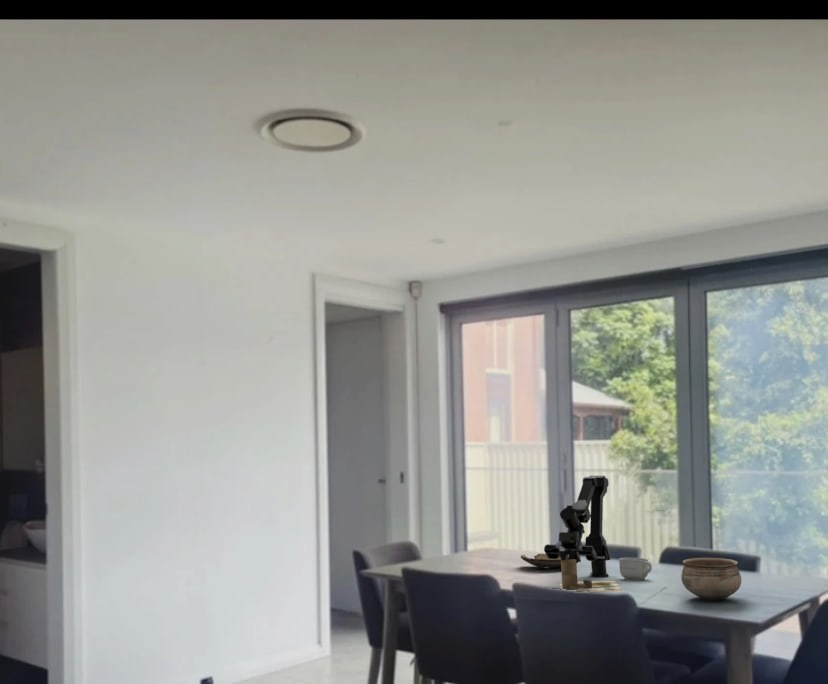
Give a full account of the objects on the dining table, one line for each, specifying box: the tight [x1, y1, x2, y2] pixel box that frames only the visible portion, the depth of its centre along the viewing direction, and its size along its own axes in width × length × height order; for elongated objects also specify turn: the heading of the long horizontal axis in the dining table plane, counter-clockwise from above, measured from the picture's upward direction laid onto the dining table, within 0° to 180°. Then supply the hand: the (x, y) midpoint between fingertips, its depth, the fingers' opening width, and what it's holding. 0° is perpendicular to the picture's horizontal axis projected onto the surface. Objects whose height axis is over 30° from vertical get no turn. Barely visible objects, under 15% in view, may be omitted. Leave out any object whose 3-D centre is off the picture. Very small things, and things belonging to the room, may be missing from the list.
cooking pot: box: [680, 557, 742, 602], centre depth 269 cm, size 25×19×12 cm
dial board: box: [558, 580, 624, 593], centre depth 293 cm, size 20×21×1 cm
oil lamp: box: [520, 546, 569, 569], centre depth 346 cm, size 22×30×8 cm
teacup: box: [618, 557, 653, 581], centre depth 308 cm, size 14×11×8 cm
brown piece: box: [560, 559, 610, 589], centre depth 292 cm, size 18×3×10 cm, turn 100°
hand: (565, 572), depth 292 cm, fingers closed
